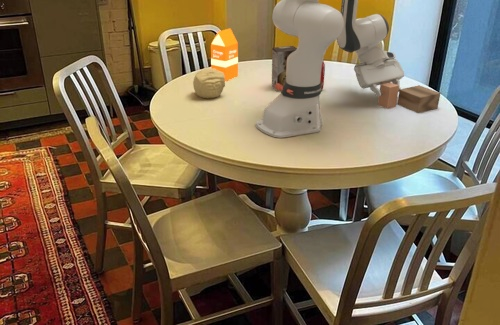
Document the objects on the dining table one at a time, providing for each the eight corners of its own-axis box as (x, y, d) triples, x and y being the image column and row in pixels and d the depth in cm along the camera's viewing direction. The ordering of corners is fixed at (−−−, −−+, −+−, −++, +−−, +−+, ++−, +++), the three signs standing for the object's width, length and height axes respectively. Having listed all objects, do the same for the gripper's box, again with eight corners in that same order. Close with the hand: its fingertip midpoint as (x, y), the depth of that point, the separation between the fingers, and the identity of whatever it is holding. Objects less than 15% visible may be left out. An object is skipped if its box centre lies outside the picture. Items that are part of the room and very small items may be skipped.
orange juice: (211, 78, 204) (209, 30, 195) (224, 73, 211) (223, 27, 202) (225, 81, 200) (225, 33, 191) (238, 76, 207) (238, 29, 198)
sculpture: (200, 102, 178) (198, 74, 173) (190, 93, 187) (188, 65, 182) (228, 98, 182) (228, 70, 177) (217, 89, 192) (216, 62, 187)
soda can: (322, 93, 188) (325, 63, 182) (304, 92, 189) (306, 62, 184) (323, 87, 194) (326, 58, 189) (306, 86, 195) (308, 57, 190)
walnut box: (417, 113, 170) (420, 97, 167) (397, 105, 178) (399, 89, 175) (437, 108, 174) (440, 93, 172) (416, 100, 182) (419, 85, 179)
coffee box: (291, 84, 197) (293, 45, 190) (297, 89, 192) (300, 49, 184) (270, 86, 195) (271, 47, 187) (276, 91, 189) (277, 51, 182)
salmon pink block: (387, 108, 173) (390, 87, 170) (377, 105, 177) (380, 84, 173) (395, 106, 176) (399, 85, 172) (386, 102, 179) (389, 82, 175)
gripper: (357, 60, 169) (374, 94, 166) (397, 52, 179) (414, 84, 176) (347, 69, 174) (363, 103, 171) (386, 61, 184) (402, 92, 181)
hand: (389, 93), depth 174 cm, fingers open, 8 cm apart
